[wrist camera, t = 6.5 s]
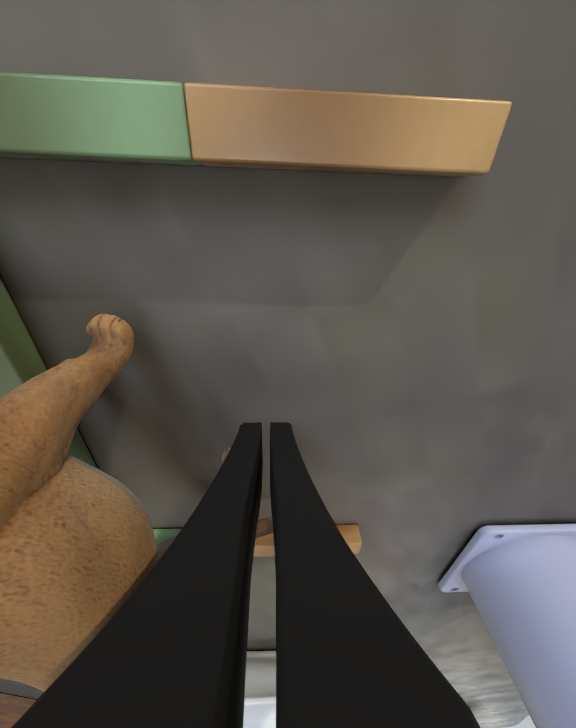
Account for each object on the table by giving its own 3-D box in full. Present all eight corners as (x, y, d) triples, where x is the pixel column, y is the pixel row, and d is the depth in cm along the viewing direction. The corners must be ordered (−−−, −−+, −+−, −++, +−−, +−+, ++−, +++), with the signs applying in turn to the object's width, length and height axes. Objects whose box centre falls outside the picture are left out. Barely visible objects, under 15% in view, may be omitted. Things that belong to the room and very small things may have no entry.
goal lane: (482, 114, 6) (515, 99, 5) (354, 535, 16) (358, 554, 15) (-161, 78, 6) (-241, 56, 5) (112, 541, 15) (102, 561, 14)
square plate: (371, 636, 25) (385, 701, 22) (321, 699, 39) (325, 745, 36) (64, 641, 23) (28, 716, 20) (127, 706, 37) (112, 756, 33)
